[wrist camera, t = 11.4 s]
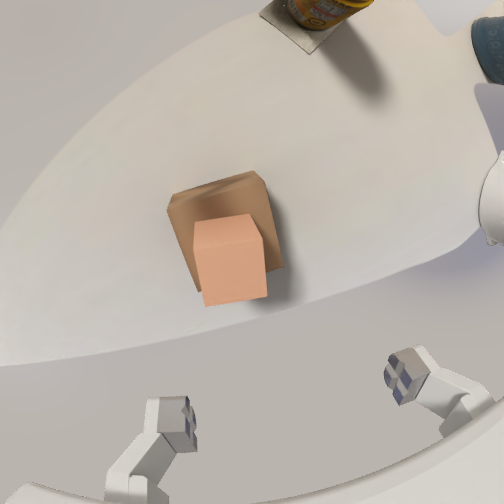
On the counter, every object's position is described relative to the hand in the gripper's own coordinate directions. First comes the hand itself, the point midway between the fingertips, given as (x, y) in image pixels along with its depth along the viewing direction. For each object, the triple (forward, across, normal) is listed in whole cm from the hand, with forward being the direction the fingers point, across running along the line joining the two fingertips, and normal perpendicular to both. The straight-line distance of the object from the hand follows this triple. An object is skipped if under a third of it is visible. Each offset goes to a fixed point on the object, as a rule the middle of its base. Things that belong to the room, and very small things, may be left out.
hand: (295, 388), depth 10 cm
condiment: (+25, -10, -22) cm, 35 cm away
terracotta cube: (+18, +2, +2) cm, 18 cm away
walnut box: (+24, +1, +2) cm, 24 cm away
